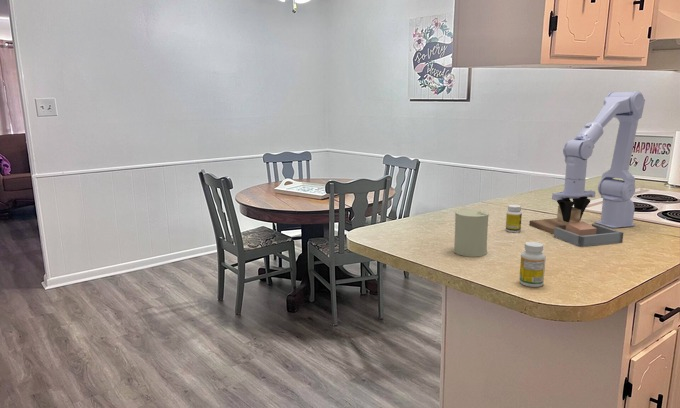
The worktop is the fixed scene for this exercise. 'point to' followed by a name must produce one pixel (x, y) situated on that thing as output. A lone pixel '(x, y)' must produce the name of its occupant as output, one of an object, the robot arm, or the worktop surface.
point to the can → (471, 232)
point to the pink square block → (581, 228)
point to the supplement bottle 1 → (513, 218)
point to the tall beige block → (573, 218)
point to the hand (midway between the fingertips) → (571, 220)
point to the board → (547, 224)
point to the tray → (590, 236)
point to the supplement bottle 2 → (532, 265)
